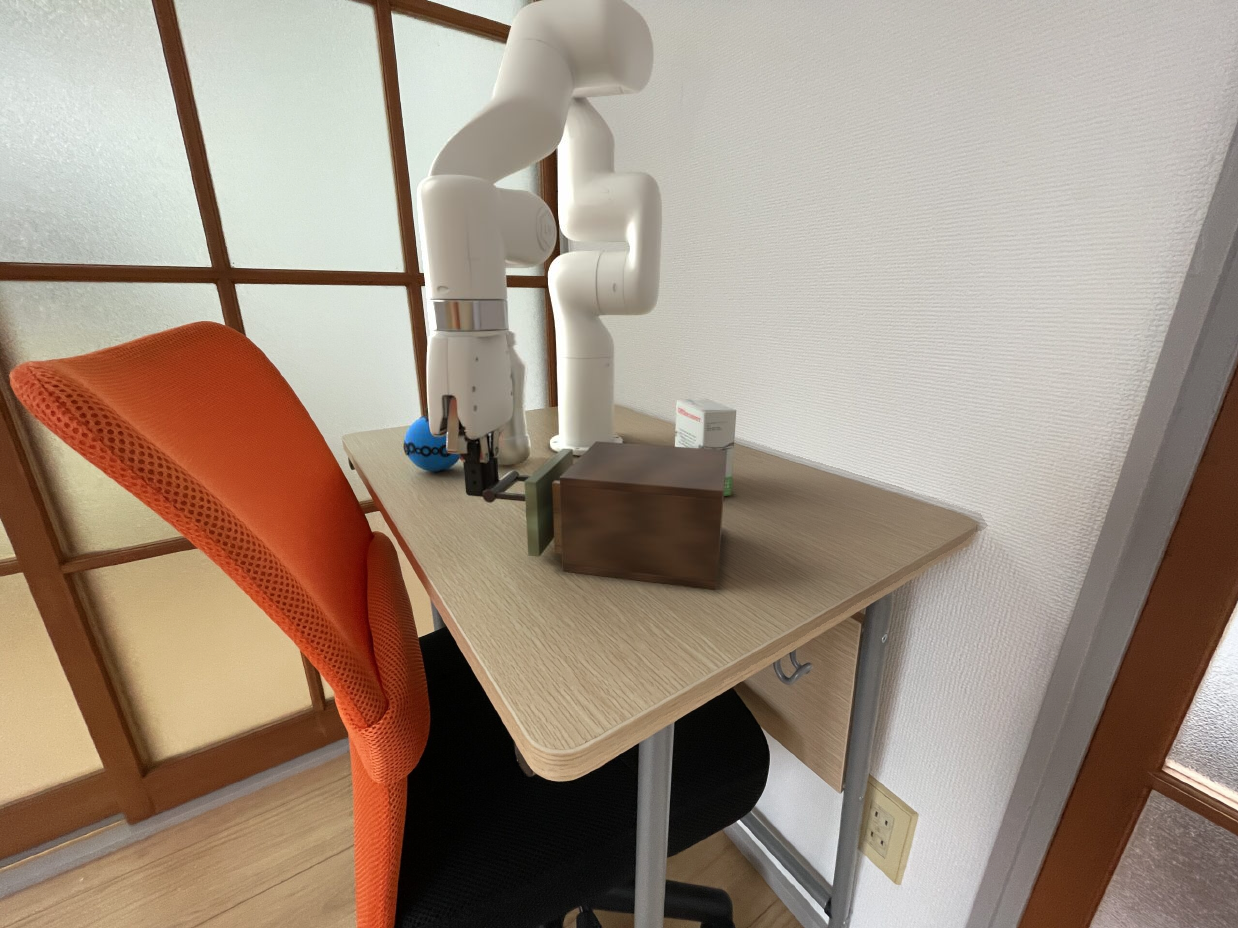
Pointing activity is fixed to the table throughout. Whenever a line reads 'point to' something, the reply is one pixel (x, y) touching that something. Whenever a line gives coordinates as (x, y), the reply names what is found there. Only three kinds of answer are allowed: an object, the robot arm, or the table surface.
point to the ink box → (707, 429)
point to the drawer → (538, 500)
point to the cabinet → (644, 513)
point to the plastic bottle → (515, 412)
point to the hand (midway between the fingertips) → (483, 493)
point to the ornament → (427, 447)
